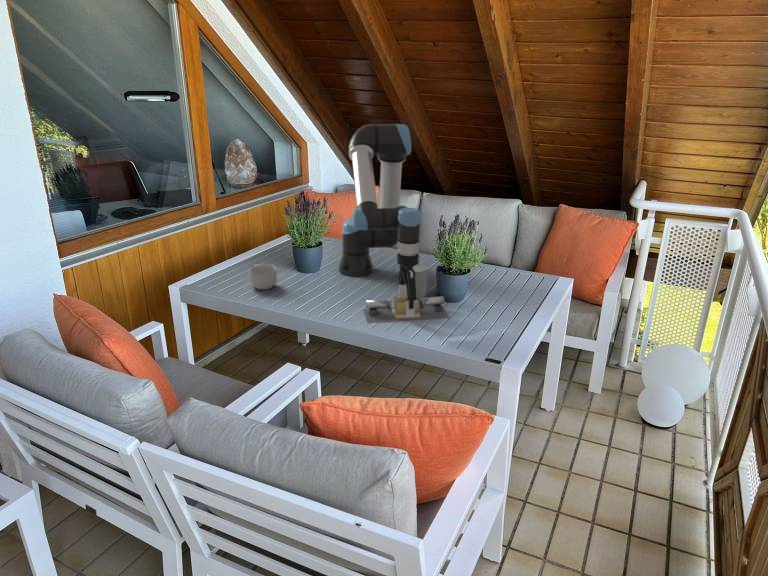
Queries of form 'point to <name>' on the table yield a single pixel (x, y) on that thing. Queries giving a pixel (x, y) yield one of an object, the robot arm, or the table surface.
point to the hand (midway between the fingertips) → (406, 308)
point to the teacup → (263, 276)
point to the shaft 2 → (432, 303)
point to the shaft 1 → (377, 306)
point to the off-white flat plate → (404, 315)
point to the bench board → (389, 316)
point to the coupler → (403, 306)
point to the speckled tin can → (420, 280)
